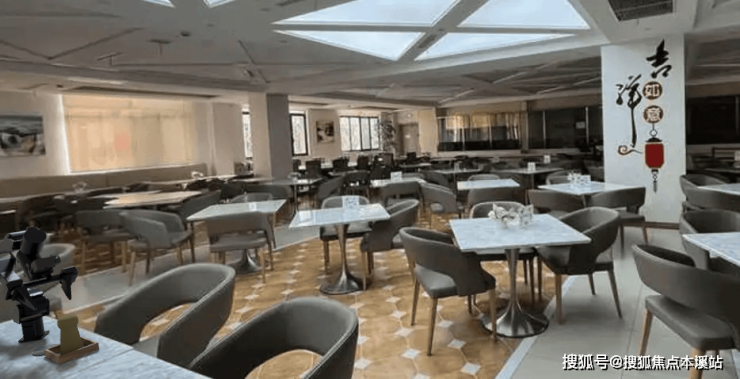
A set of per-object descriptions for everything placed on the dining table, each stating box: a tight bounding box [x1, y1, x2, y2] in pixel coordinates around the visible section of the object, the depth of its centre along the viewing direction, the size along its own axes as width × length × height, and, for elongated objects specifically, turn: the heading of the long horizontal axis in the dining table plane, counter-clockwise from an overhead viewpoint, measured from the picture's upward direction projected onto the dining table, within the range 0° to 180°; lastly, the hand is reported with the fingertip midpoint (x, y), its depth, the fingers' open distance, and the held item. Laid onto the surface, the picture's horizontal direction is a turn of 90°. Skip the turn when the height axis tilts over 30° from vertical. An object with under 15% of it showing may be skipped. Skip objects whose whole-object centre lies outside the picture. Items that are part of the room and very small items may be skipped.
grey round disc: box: [32, 343, 60, 357], centre depth 139 cm, size 7×7×1 cm
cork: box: [56, 313, 85, 355], centre depth 135 cm, size 6×6×11 cm
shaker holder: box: [44, 336, 100, 365], centre depth 136 cm, size 10×10×2 cm
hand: (53, 304), depth 139 cm, fingers open, 9 cm apart
